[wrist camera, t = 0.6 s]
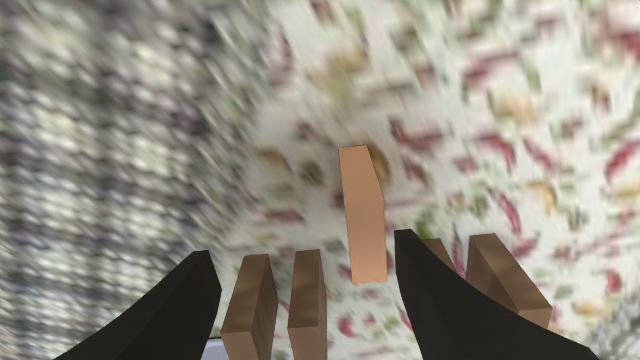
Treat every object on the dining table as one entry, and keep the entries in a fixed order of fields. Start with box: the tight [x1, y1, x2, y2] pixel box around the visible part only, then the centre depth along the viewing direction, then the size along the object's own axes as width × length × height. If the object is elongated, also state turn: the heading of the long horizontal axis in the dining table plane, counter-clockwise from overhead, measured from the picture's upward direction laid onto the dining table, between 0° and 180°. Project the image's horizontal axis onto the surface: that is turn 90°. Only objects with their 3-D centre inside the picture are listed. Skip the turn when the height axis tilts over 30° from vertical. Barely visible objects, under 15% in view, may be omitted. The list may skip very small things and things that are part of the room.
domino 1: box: [220, 254, 279, 360], centre depth 24 cm, size 2×5×7 cm, turn 7°
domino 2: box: [287, 249, 327, 360], centre depth 24 cm, size 2×5×7 cm, turn 7°
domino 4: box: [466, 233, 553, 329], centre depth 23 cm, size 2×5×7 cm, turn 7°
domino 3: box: [339, 145, 387, 284], centre depth 20 cm, size 2×5×7 cm, turn 7°
